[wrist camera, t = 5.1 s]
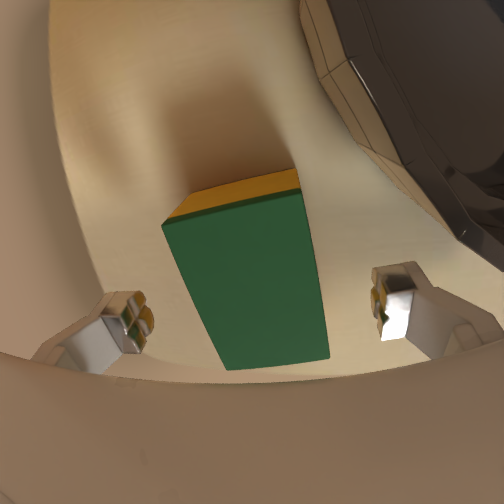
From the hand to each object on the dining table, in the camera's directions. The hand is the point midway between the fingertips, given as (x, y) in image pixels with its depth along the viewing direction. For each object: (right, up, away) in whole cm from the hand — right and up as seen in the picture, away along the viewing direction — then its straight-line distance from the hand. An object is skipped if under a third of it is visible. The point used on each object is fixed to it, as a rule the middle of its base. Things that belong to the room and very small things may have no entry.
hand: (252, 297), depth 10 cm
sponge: (+1, +1, +3) cm, 4 cm away
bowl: (+10, +11, -3) cm, 15 cm away
